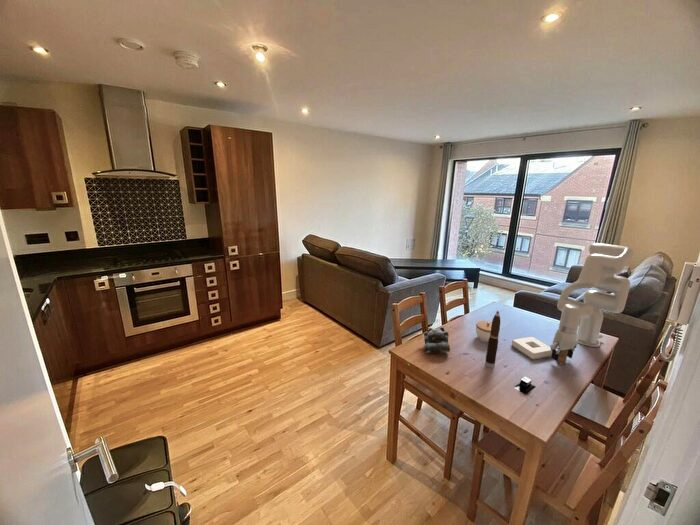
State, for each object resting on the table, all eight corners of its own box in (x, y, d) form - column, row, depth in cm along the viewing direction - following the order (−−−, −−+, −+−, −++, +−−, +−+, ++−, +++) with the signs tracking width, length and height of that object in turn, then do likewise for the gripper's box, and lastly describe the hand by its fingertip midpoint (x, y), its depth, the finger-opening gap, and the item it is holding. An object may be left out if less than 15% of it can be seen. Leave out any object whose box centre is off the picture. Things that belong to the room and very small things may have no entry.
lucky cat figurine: (419, 352, 156) (418, 326, 159) (428, 352, 165) (427, 327, 168) (446, 354, 147) (444, 327, 150) (454, 353, 156) (452, 327, 159)
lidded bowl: (502, 342, 167) (505, 325, 164) (486, 346, 162) (488, 329, 159) (485, 332, 178) (487, 316, 175) (469, 336, 174) (472, 319, 171)
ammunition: (486, 361, 149) (494, 308, 141) (495, 364, 146) (504, 310, 138) (483, 365, 145) (491, 311, 138) (493, 368, 143) (502, 314, 135)
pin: (559, 359, 151) (562, 345, 149) (567, 363, 147) (570, 349, 145) (553, 360, 150) (556, 346, 148) (561, 364, 146) (564, 350, 144)
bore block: (531, 342, 167) (532, 336, 166) (553, 356, 154) (554, 349, 153) (511, 346, 163) (512, 339, 162) (532, 360, 150) (533, 353, 149)
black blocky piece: (523, 379, 136) (524, 370, 135) (539, 387, 130) (541, 379, 129) (509, 388, 129) (511, 380, 128) (526, 398, 123) (528, 389, 122)
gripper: (573, 322, 149) (567, 351, 154) (547, 326, 145) (541, 356, 149) (588, 329, 142) (581, 359, 147) (561, 333, 138) (554, 364, 142)
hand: (561, 358), depth 148 cm, fingers open, 9 cm apart
